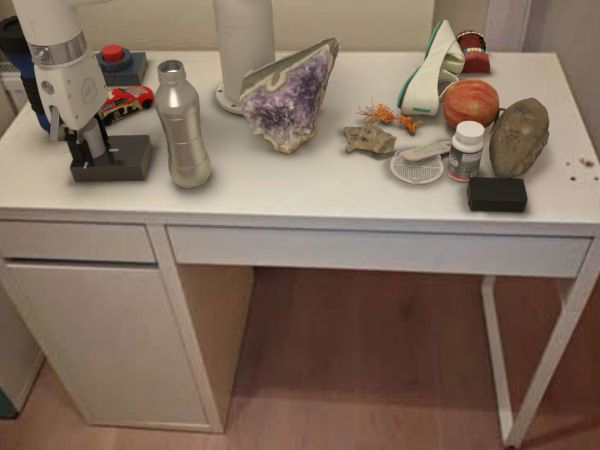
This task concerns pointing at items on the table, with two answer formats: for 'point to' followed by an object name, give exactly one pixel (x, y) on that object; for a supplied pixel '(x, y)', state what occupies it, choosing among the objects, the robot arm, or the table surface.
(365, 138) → the artifact
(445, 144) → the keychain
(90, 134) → the stove knob
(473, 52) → the dental model
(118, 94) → the race car
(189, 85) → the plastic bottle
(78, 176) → the panel
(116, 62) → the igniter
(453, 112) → the fruit
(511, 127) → the stone
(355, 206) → the table surface
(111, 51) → the button
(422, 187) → the table surface
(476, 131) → the pill bottle
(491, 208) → the ink cartridge
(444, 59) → the white wedge shoe
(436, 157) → the drain cover
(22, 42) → the flashlight
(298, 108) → the gemstone
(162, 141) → the table surface
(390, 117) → the dragon
